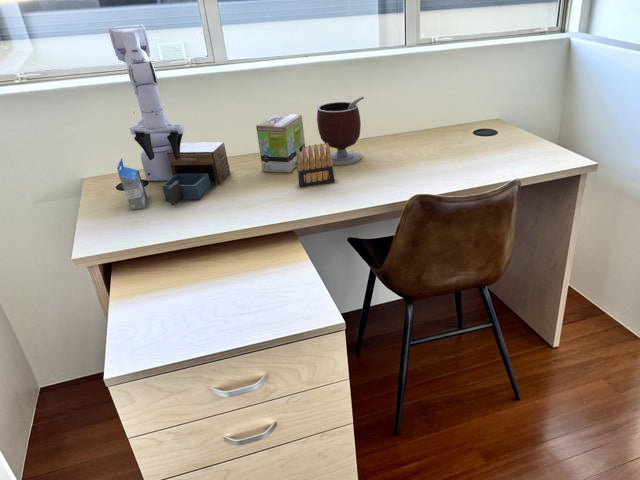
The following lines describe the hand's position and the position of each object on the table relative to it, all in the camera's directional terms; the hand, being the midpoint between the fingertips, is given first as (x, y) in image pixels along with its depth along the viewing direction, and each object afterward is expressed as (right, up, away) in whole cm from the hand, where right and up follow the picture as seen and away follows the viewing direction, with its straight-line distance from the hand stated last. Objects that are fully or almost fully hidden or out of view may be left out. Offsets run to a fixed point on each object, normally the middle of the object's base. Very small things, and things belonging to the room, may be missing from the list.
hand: (164, 158), depth 160 cm
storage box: (+5, -11, +2) cm, 12 cm away
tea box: (+30, +4, +24) cm, 38 cm away
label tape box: (-7, -13, -1) cm, 15 cm away
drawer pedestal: (+6, -3, +14) cm, 16 cm away
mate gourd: (+49, +6, +27) cm, 56 cm away
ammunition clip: (+43, -6, +8) cm, 44 cm away
